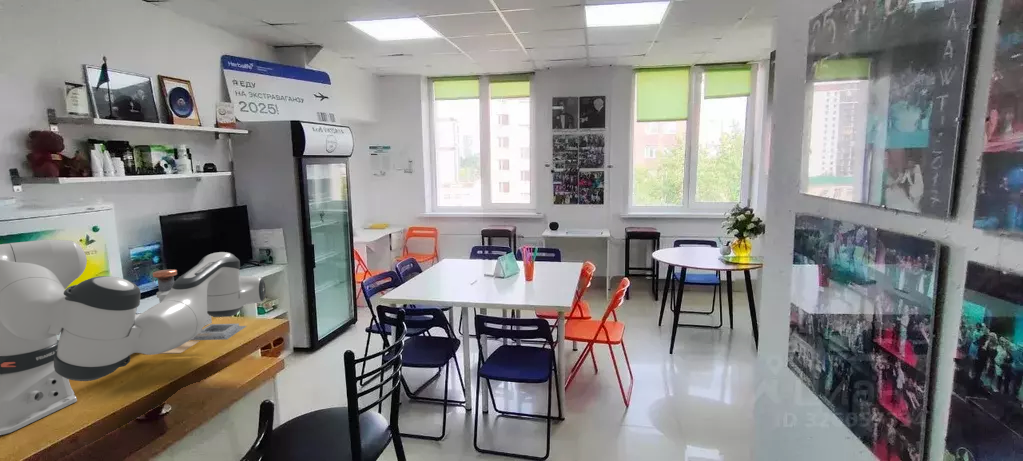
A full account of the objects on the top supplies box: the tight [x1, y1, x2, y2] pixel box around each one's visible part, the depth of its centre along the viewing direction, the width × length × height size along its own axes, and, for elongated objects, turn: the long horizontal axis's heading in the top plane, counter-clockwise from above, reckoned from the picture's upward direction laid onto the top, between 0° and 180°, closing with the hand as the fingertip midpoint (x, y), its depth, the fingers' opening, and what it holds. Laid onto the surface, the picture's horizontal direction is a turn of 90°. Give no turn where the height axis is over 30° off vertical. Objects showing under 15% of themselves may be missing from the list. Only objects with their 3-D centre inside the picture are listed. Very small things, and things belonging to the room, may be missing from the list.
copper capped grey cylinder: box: [152, 268, 178, 292], centre depth 149 cm, size 6×6×14 cm
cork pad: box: [158, 340, 201, 355], centre depth 151 cm, size 10×11×1 cm
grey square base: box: [190, 323, 247, 341], centre depth 164 cm, size 13×13×2 cm
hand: (164, 292), depth 149 cm, fingers closed on copper capped grey cylinder, 4 cm apart
